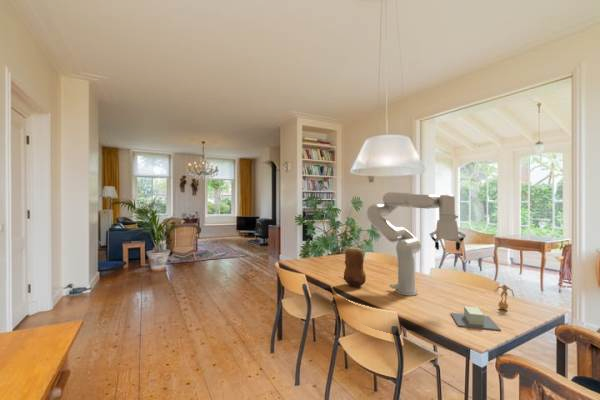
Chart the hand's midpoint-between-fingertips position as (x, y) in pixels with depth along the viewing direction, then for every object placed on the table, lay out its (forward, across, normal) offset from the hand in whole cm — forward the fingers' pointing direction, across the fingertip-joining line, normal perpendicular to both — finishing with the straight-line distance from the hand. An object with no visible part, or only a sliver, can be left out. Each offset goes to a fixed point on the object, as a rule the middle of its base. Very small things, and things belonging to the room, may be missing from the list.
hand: (447, 249), depth 150 cm
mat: (+28, -6, +23) cm, 37 cm away
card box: (+28, -6, +23) cm, 36 cm away
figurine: (+28, -25, +2) cm, 38 cm away
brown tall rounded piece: (+28, +51, -17) cm, 61 cm away
